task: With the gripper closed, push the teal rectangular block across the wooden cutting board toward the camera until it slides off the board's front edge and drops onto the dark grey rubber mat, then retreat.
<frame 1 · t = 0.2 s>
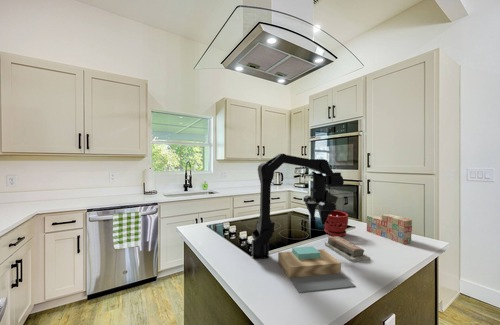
hand: (317, 221, 97), 14 cm above the worktop, fingers open, 9 cm apart
stack of blocks: (387, 237, 119), on the worktop
board: (307, 267, 83), on the worktop
teal rectangular block: (305, 255, 85), point 4 cm above the worktop, touching board
mat: (321, 282, 73), on the worktop
packaged product: (345, 253, 98), on the worktop
plant pot: (335, 234, 122), on the worktop
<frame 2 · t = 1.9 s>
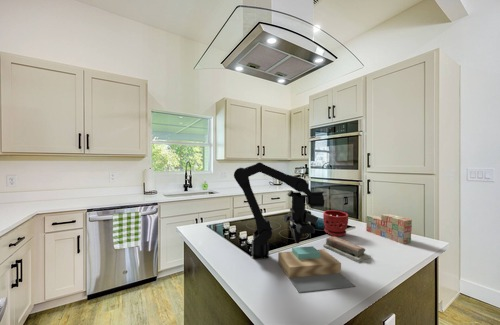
hand: (297, 242, 92), 6 cm above the worktop, fingers closed
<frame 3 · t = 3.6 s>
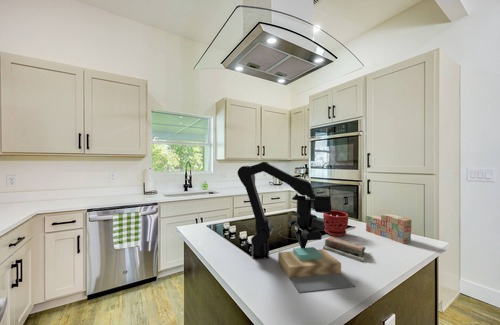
hand: (302, 249, 88), 5 cm above the worktop, fingers closed
teal rectangular block: (306, 256, 84), point 4 cm above the worktop, touching board, gripper
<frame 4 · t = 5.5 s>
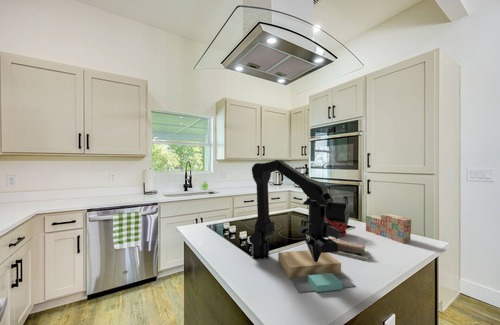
hand: (315, 261, 77), 5 cm above the worktop, fingers closed
teal rectangular block: (324, 279, 71), point 2 cm above the worktop, tilted 180°, touching mat
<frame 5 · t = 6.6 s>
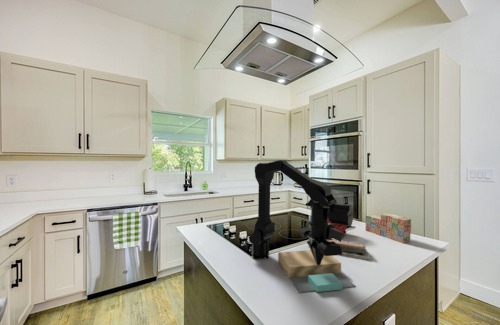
hand: (318, 264, 75), 5 cm above the worktop, fingers closed
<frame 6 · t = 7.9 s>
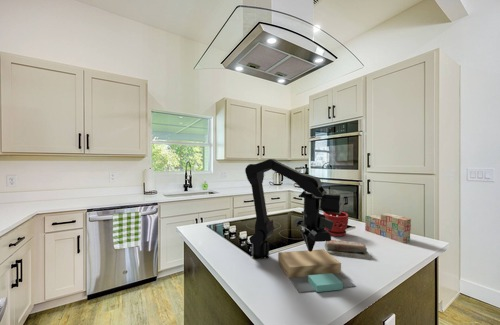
hand: (310, 251, 81), 7 cm above the worktop, fingers closed
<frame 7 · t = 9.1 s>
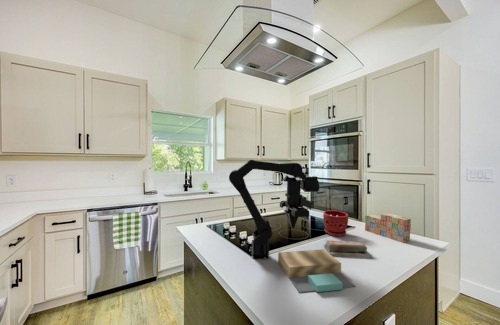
hand: (292, 227, 93), 12 cm above the worktop, fingers closed
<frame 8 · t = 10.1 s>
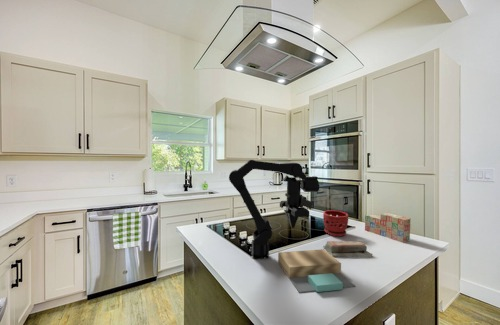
hand: (292, 227, 93), 12 cm above the worktop, fingers closed
at the end: teal rectangular block point 2.3 cm above the worktop; teal rectangular block inside the target area on the mat (2.0 cm from its centre), point 2.3 cm above the mat's base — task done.
